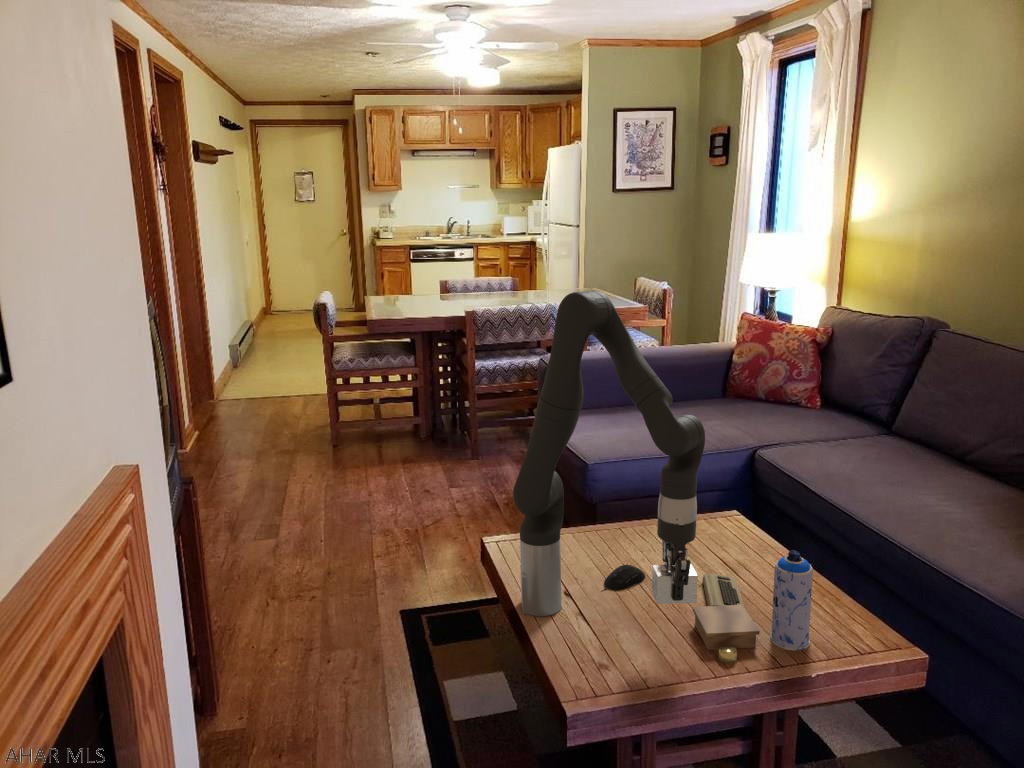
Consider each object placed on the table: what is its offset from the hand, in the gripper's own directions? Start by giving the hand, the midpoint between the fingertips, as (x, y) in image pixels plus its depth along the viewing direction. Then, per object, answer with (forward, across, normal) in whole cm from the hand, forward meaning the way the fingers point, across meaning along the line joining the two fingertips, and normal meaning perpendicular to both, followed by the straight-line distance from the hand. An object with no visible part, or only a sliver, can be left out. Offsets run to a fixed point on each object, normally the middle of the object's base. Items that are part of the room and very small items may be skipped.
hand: (673, 592), depth 158 cm
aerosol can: (+13, -2, +26) cm, 29 cm away
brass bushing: (+13, +4, +11) cm, 17 cm away
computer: (+14, -21, +17) cm, 30 cm away
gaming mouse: (+14, -31, -5) cm, 35 cm away
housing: (+1, 0, 0) cm, 1 cm away
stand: (+13, -5, +13) cm, 19 cm away
